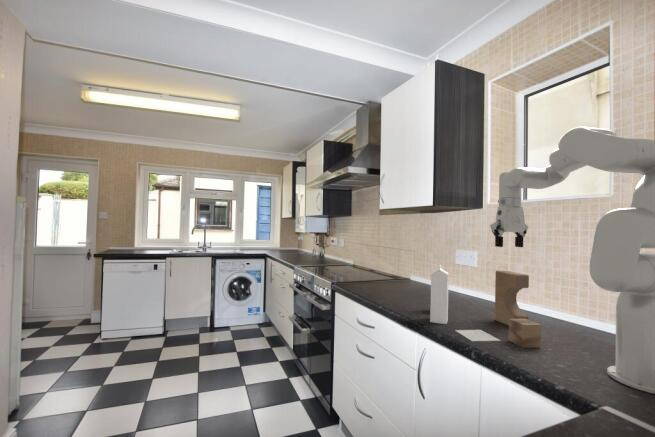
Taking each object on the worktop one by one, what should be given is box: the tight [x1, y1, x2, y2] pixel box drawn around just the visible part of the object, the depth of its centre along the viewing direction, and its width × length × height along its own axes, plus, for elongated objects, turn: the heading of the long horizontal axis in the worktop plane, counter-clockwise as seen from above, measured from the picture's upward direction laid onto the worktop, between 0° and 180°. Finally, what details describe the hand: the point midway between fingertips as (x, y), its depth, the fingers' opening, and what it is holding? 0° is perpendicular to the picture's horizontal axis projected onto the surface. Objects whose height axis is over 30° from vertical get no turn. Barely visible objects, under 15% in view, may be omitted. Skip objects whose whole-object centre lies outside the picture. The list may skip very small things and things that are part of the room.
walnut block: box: [508, 318, 542, 349], centre depth 95 cm, size 6×6×7 cm
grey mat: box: [454, 329, 501, 342], centre depth 101 cm, size 10×10×1 cm
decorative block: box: [494, 270, 530, 327], centre depth 116 cm, size 11×6×20 cm, turn 10°
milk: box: [429, 264, 450, 325], centre depth 117 cm, size 6×6×22 cm
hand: (509, 246), depth 116 cm, fingers open, 9 cm apart
